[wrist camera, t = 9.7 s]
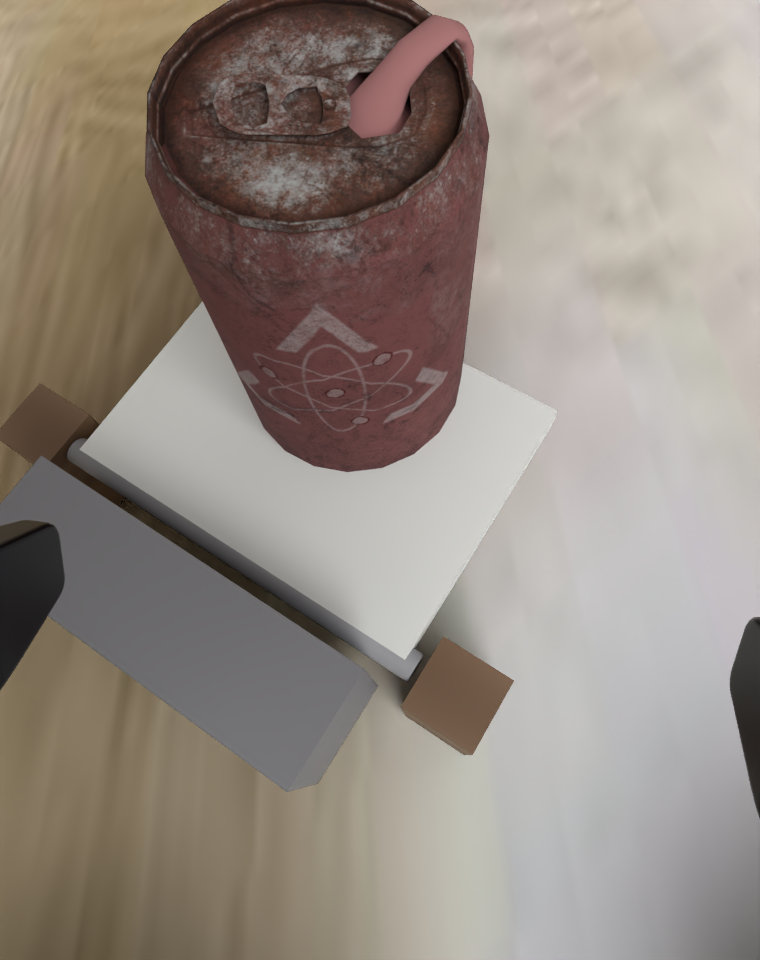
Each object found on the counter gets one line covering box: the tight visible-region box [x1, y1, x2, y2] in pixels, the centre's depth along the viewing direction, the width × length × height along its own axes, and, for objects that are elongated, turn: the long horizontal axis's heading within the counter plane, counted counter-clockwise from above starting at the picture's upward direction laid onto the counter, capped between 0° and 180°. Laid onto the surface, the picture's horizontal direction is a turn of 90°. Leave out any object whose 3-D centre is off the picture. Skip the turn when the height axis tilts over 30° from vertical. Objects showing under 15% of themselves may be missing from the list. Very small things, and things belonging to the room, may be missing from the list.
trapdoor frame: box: [0, 384, 514, 755], centre depth 21 cm, size 2×16×4 cm, turn 57°
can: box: [145, 0, 489, 472], centre depth 18 cm, size 6×6×14 cm
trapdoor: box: [0, 301, 558, 792], centre depth 20 cm, size 12×12×4 cm
